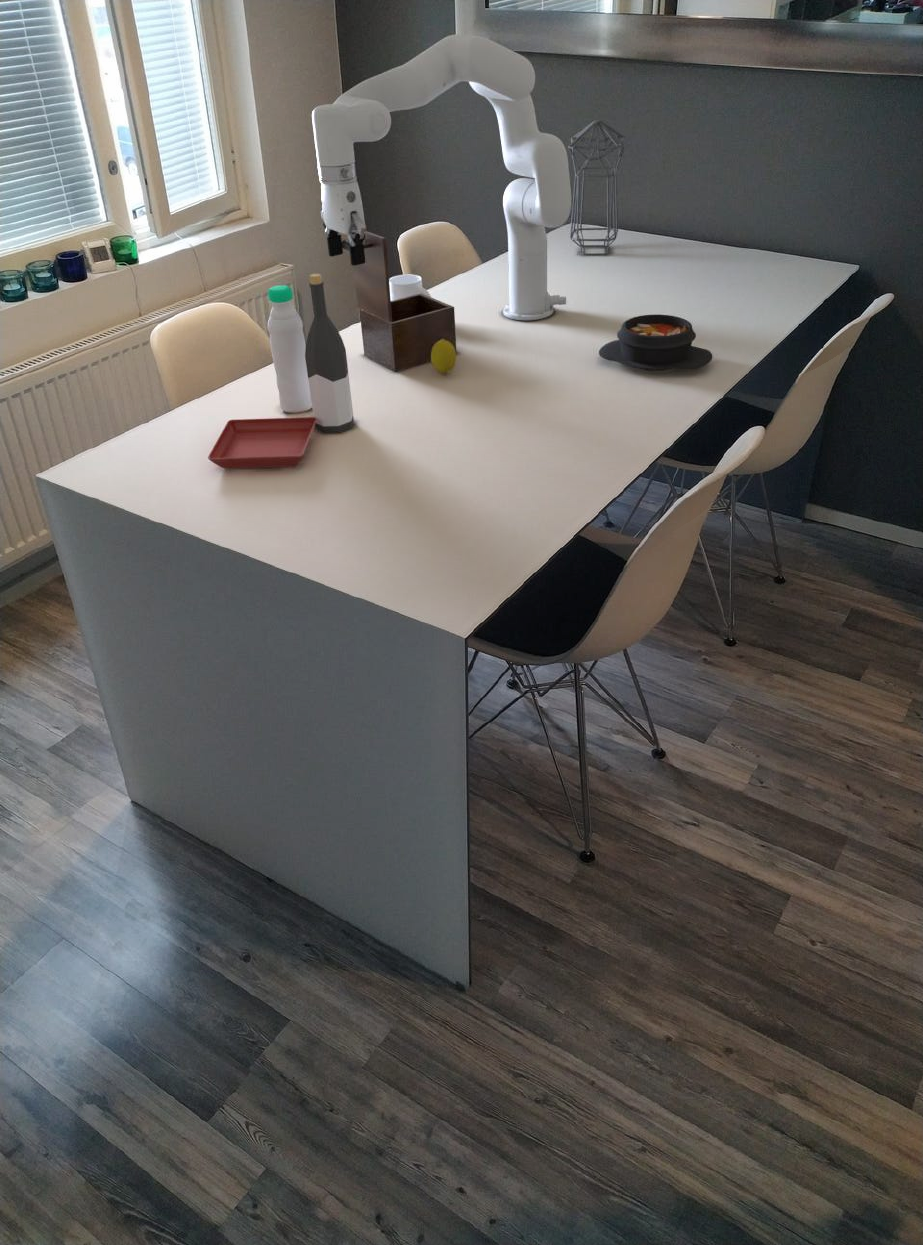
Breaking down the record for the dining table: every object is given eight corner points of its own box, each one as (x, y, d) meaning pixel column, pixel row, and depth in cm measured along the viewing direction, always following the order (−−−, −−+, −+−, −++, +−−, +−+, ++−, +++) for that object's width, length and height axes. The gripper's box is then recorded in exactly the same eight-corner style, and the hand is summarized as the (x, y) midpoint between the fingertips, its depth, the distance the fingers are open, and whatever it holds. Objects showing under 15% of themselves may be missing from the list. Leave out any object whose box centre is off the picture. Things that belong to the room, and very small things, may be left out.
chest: (424, 338, 243) (420, 293, 237) (456, 353, 234) (454, 306, 228) (364, 355, 236) (359, 309, 230) (395, 371, 226) (391, 324, 220)
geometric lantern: (565, 258, 293) (567, 126, 273) (570, 243, 306) (571, 116, 285) (620, 258, 290) (626, 124, 270) (622, 243, 303) (628, 114, 283)
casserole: (720, 354, 226) (724, 317, 221) (699, 384, 212) (703, 345, 207) (613, 342, 235) (615, 306, 230) (586, 370, 222) (587, 333, 217)
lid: (352, 225, 220) (330, 230, 217) (385, 237, 210) (362, 242, 208) (360, 306, 230) (339, 312, 227) (392, 321, 220) (370, 327, 218)
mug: (442, 320, 254) (440, 278, 248) (423, 330, 248) (420, 288, 242) (405, 313, 260) (402, 272, 254) (385, 322, 254) (381, 281, 248)
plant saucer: (230, 433, 203) (228, 418, 201) (319, 431, 202) (317, 415, 200) (209, 474, 188) (206, 458, 186) (305, 472, 187) (303, 455, 185)
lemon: (431, 370, 226) (429, 335, 221) (456, 368, 226) (454, 333, 222) (432, 380, 221) (430, 344, 217) (457, 378, 222) (456, 342, 217)
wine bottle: (361, 420, 205) (345, 270, 188) (341, 436, 200) (322, 283, 182) (328, 415, 208) (308, 267, 191) (307, 430, 203) (285, 279, 185)
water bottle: (319, 402, 214) (303, 283, 200) (305, 415, 209) (287, 294, 194) (290, 399, 216) (272, 281, 202) (274, 412, 211) (254, 292, 197)
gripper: (375, 176, 201) (383, 264, 211) (332, 164, 213) (342, 248, 222) (342, 182, 197) (352, 272, 207) (301, 169, 209) (312, 255, 219)
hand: (347, 259), depth 215 cm, fingers open, 9 cm apart
